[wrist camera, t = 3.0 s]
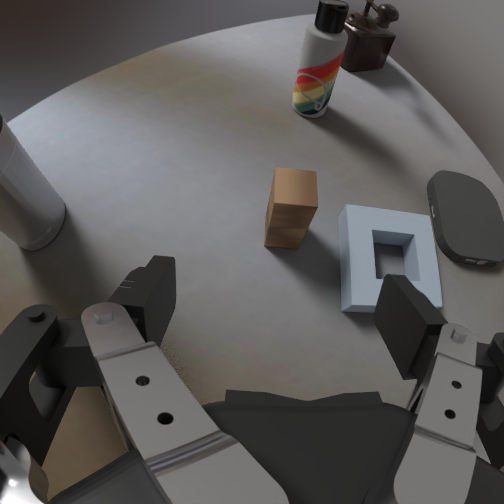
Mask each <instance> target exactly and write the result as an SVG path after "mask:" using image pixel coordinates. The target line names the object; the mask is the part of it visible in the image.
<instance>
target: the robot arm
mask: <svg viewBox="0 0 504 504" xmlns="http://www.w3.org/2000/svg"><path fill="white" fill-rule="evenodd" d="M64 217H65V205H64V202H63V200H62V199H61V197H60V196H59V195H58V193H57V192H56V191H55V190H54V188H53V187H52V186H51V184H50V183H49V182H48V180H47V179H46V178H45V176H44V175H43V174H42V172H41V171H40V170H39V168H38V167H37V166H36V164H35V163H34V162H33V160H32V159H31V158H30V156H29V155H28V153H27V152H26V151H25V149H24V148H23V146H22V145H21V144H20V142H19V141H18V139H17V138H16V136H15V135H14V134H13V132H12V131H11V129H10V128H9V126H8V125H7V123H6V122H5V120H4V119H3V117H2V116H1V114H0V231H2V232H3V233H4V234H5V235H6V236H8V237H9V238H10V239H11V240H13V241H14V242H15V243H16V244H18V245H19V246H20V247H22V248H23V249H25V250H29V251H33V250H38V249H41V248H43V247H44V246H46V245H48V244H49V243H50V242H51V241H52V240H53V239H54V238H55V236H56V235H57V234H58V232H59V230H60V229H61V226H62V224H63V221H64ZM430 302H431V301H430V300H429V299H428V298H427V297H426V295H425V294H423V293H422V292H420V291H419V290H418V289H416V288H415V286H414V285H413V284H412V283H411V282H410V281H409V279H408V278H407V277H406V276H405V275H393V274H387V275H386V276H385V277H384V279H383V283H382V286H381V290H380V293H379V297H378V300H377V304H376V307H375V311H374V321H375V325H376V327H377V329H378V330H379V332H380V334H381V336H382V338H383V340H384V342H385V344H386V346H387V348H388V350H389V352H390V354H391V356H392V358H393V360H394V362H395V364H396V366H397V368H398V370H399V372H400V374H401V376H402V378H403V380H409V379H417V382H416V384H415V386H414V388H413V390H412V393H411V395H410V398H409V400H408V403H407V405H406V407H405V409H404V408H402V407H399V406H396V405H393V404H389V403H384V402H382V400H381V397H380V395H379V392H362V393H343V394H339V395H335V396H330V397H326V398H321V399H317V400H312V401H303V400H298V399H293V398H289V397H284V396H280V395H275V394H271V393H267V392H251V391H237V390H226V396H225V401H220V402H214V403H209V404H205V405H202V406H201V405H200V404H199V403H198V402H197V400H196V399H195V398H194V396H193V395H192V394H191V392H190V391H189V390H188V388H187V387H186V386H185V384H184V383H183V382H182V380H181V379H180V377H179V376H178V375H177V373H176V372H175V370H174V369H173V368H172V366H171V365H170V363H169V362H168V360H167V359H166V358H165V356H164V355H163V353H162V352H161V350H160V349H159V347H160V345H161V342H162V340H163V337H164V335H165V332H166V330H167V327H168V325H169V322H170V320H171V317H172V315H173V312H174V309H175V304H176V269H175V258H174V257H168V256H157V255H154V256H153V258H152V259H151V260H150V262H149V263H148V264H147V266H146V267H138V268H137V269H135V270H133V271H131V272H130V273H129V274H128V275H127V277H126V278H125V280H124V281H123V282H122V283H121V284H120V287H118V288H117V290H116V291H115V292H114V294H113V295H112V296H111V298H110V299H109V300H108V302H102V303H97V304H94V305H92V306H90V307H88V308H86V309H85V310H84V311H83V313H82V315H81V319H67V320H58V316H57V312H56V310H55V309H54V308H53V307H52V306H49V305H44V304H40V305H34V306H30V307H28V308H26V309H24V310H23V311H21V312H20V313H19V314H18V315H17V316H16V318H15V319H14V320H13V321H12V322H11V323H10V324H9V326H8V327H7V328H6V329H5V330H4V331H3V333H2V334H1V335H0V504H504V406H503V405H502V403H501V401H500V400H499V398H498V396H497V395H498V394H499V392H500V391H501V389H502V388H503V386H504V333H496V334H495V335H494V337H493V339H492V341H491V343H490V344H484V343H479V342H477V338H476V336H475V334H474V333H473V332H472V331H471V330H469V329H468V328H466V327H464V326H462V325H460V324H456V323H448V322H447V321H446V319H445V318H444V317H443V316H442V315H441V313H440V312H439V311H438V310H437V309H435V306H434V305H433V304H432V303H430ZM34 371H35V372H36V374H35V376H34V377H33V379H32V381H31V382H30V384H29V381H30V378H31V376H32V374H33V372H34ZM86 386H99V387H100V390H101V392H102V395H103V397H104V400H105V402H106V404H107V407H108V409H109V411H110V414H111V416H112V418H113V420H114V423H115V425H116V427H117V429H118V431H119V434H120V436H121V438H122V441H123V443H124V445H125V447H126V450H127V452H126V453H125V454H123V455H122V456H120V457H119V458H117V459H116V460H114V461H112V462H111V463H109V464H108V465H106V466H104V467H103V468H101V469H99V470H98V471H96V472H94V473H93V474H91V475H89V476H88V477H86V478H84V479H83V480H81V481H79V482H78V483H76V484H74V485H72V486H71V487H69V488H67V489H65V490H63V491H62V492H60V493H58V494H57V495H56V496H54V497H53V498H52V499H51V500H50V501H49V502H48V499H47V494H48V487H49V483H48V478H47V476H46V474H45V472H44V471H43V469H42V468H41V467H42V465H43V462H44V460H45V457H46V455H47V452H48V450H49V447H50V445H51V443H52V440H53V438H54V435H55V433H56V431H57V429H58V426H59V424H60V422H61V419H62V417H63V415H64V413H65V410H66V408H67V406H68V404H69V402H70V400H71V397H72V395H73V393H74V391H75V389H76V387H86ZM475 429H476V431H477V433H478V435H479V437H480V439H481V441H482V444H483V446H484V448H485V450H486V453H487V455H488V457H489V460H490V462H491V464H489V463H488V462H486V461H485V460H483V459H482V458H480V457H478V456H477V455H476V451H475V450H474V449H473V440H474V435H475Z"/></svg>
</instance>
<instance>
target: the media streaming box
mask: <svg viewBox="0 0 504 504" xmlns="http://www.w3.org/2000/svg"><path fill="white" fill-rule="evenodd" d="M427 192H428V199H429V205H430V211H431V217H432V222H433V228H434V233H435V238H436V241H437V244H438V246H439V248H440V249H441V251H442V252H443V253H444V254H445V255H446V256H447V257H448V258H450V259H451V260H453V261H458V262H463V263H468V264H474V265H483V266H494V265H495V264H497V263H499V262H501V261H502V260H503V259H504V221H503V217H502V214H501V211H500V208H499V206H498V203H497V201H496V199H495V197H494V196H493V194H492V193H491V191H490V190H489V189H488V188H487V187H486V186H485V185H484V184H483V183H482V182H480V181H478V180H476V179H474V178H472V177H470V176H467V175H464V174H461V173H457V172H452V171H444V170H443V171H439V172H437V173H436V174H435V175H434V176H433V177H432V178H431V179H430V181H429V182H428V185H427Z"/></svg>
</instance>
